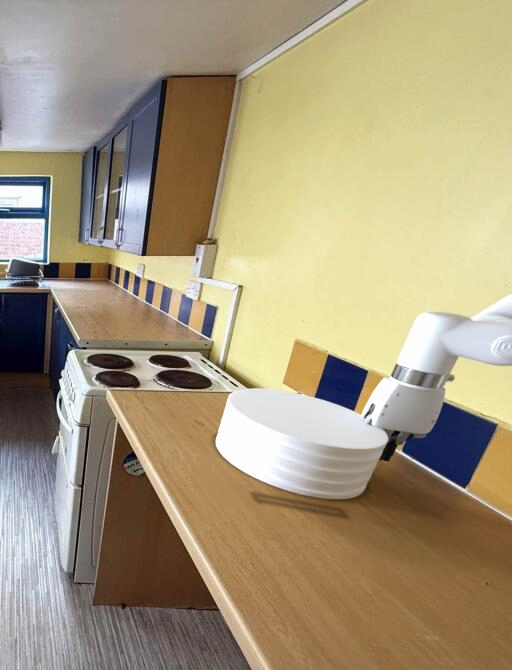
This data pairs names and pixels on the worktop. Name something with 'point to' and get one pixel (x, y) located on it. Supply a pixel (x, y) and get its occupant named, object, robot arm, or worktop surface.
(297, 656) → the worktop surface
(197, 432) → the worktop surface
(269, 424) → the plate stack
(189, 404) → the worktop surface
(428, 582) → the worktop surface
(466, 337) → the robot arm
